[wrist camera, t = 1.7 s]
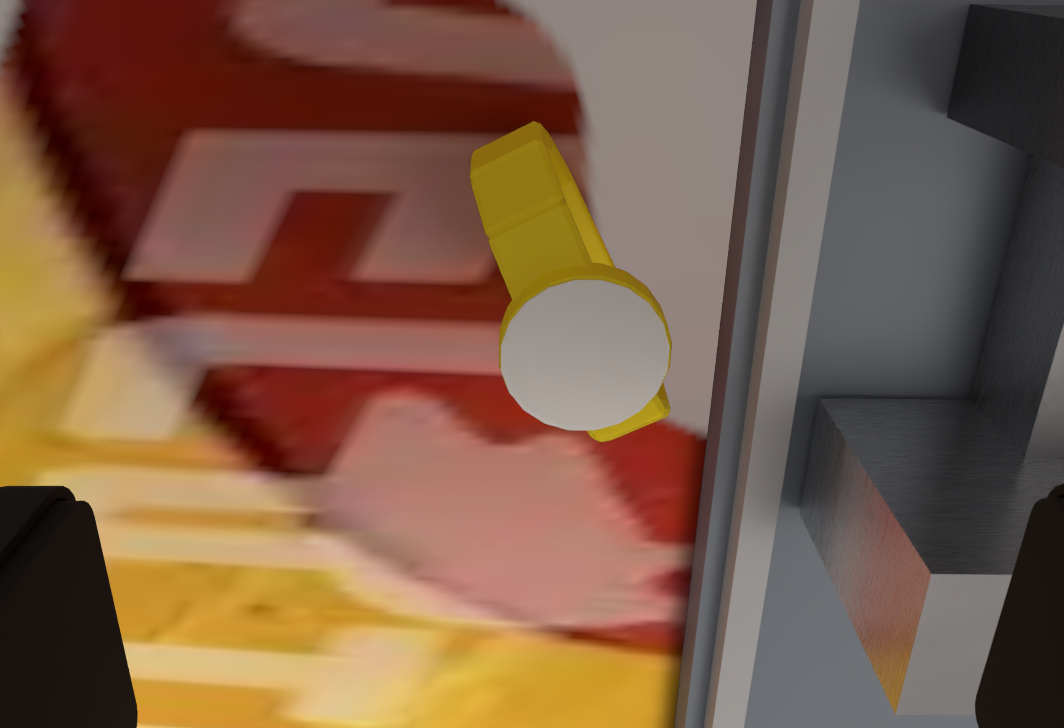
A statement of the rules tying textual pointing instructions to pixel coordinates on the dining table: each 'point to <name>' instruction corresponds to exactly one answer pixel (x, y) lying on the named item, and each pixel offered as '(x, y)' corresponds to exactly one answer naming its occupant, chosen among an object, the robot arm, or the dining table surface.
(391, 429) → the dining table surface
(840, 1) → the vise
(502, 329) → the watch
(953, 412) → the sliding jaw
